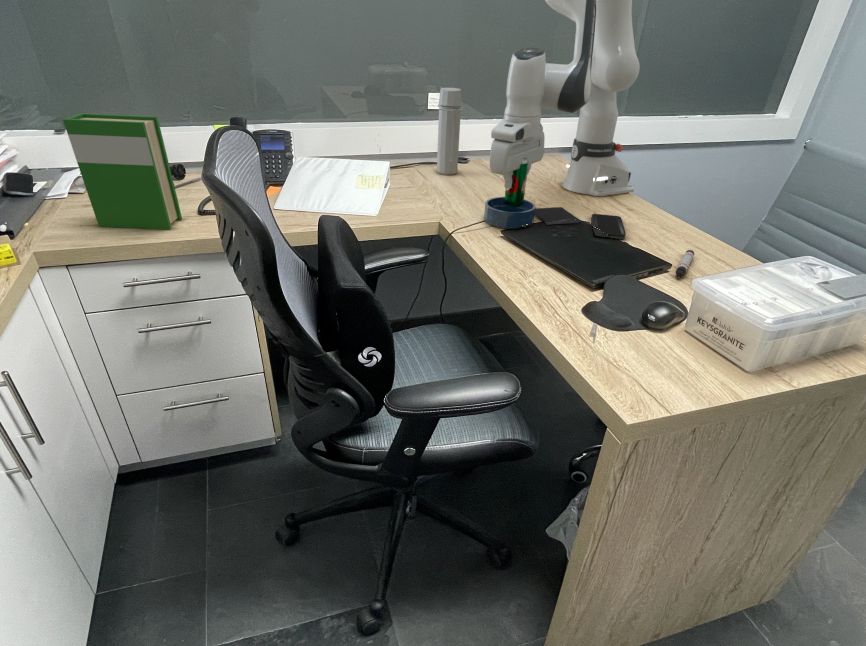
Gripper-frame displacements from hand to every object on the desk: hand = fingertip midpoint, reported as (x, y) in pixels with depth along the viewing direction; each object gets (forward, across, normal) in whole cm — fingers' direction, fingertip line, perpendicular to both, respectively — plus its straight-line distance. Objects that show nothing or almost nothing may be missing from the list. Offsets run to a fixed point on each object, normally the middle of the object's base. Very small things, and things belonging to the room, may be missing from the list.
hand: (515, 185), depth 139 cm
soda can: (+5, 0, 0) cm, 5 cm away
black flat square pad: (+10, -11, +7) cm, 16 cm away
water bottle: (+10, -25, -41) cm, 49 cm away
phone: (+10, -13, +21) cm, 27 cm away
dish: (+10, 0, -1) cm, 10 cm away
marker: (+10, 0, +46) cm, 47 cm away
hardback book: (+8, +67, -67) cm, 95 cm away
